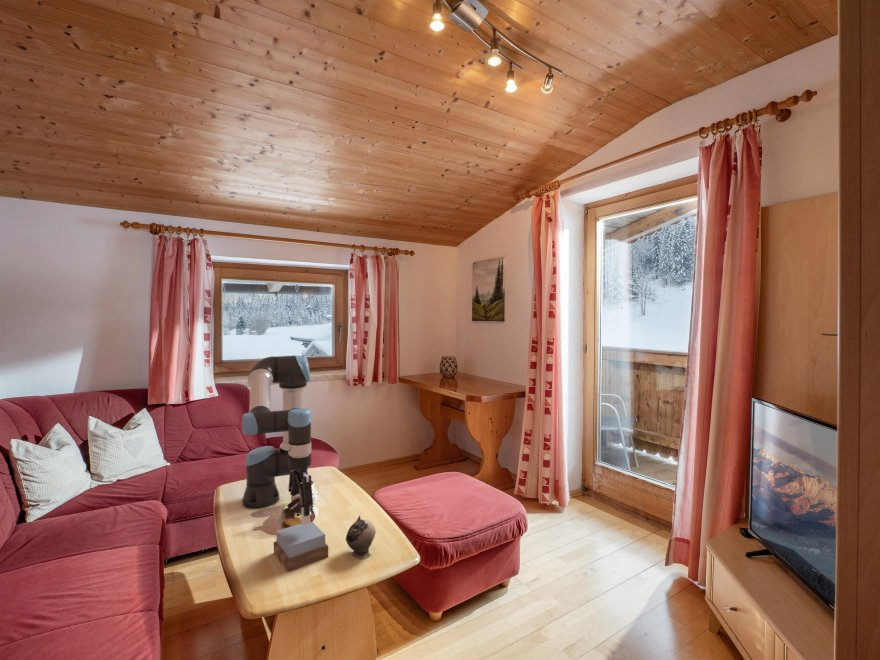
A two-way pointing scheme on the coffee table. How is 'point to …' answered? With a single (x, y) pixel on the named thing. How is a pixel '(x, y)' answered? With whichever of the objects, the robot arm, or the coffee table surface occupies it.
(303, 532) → the top brick
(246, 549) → the coffee table surface
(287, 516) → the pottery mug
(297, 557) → the base brick
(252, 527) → the coffee table surface
